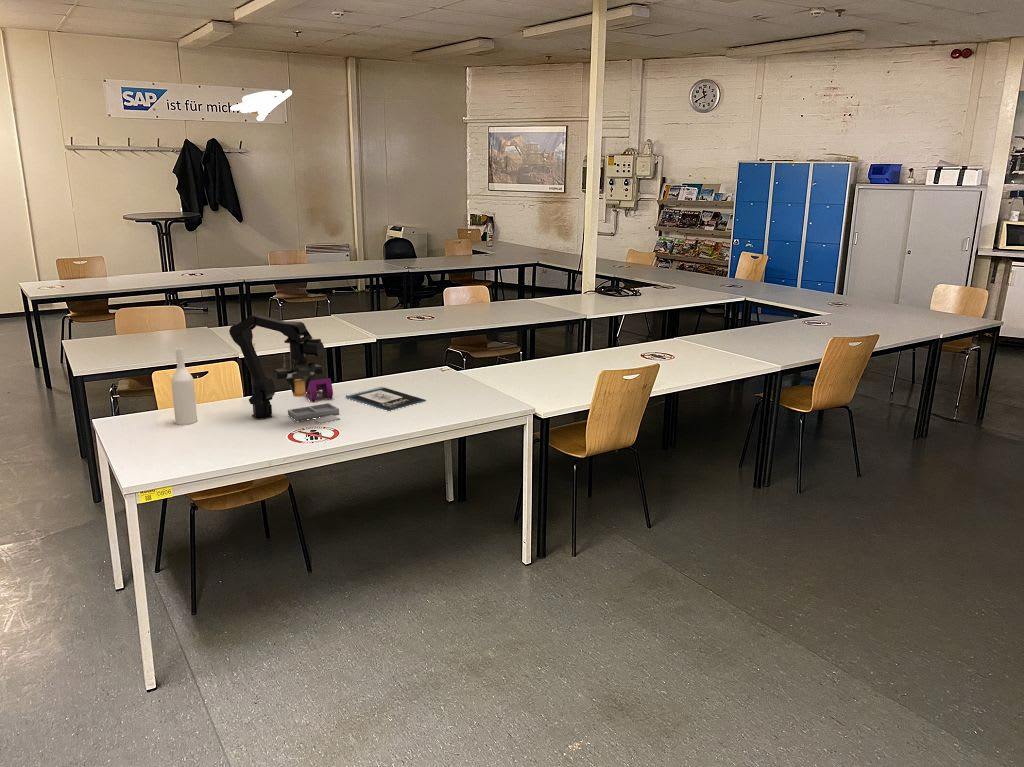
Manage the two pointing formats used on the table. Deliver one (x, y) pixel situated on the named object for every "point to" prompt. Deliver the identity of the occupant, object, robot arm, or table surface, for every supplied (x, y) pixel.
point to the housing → (313, 412)
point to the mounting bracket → (320, 385)
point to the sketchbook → (385, 398)
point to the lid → (326, 419)
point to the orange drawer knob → (299, 388)
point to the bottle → (183, 393)
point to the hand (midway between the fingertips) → (299, 392)
